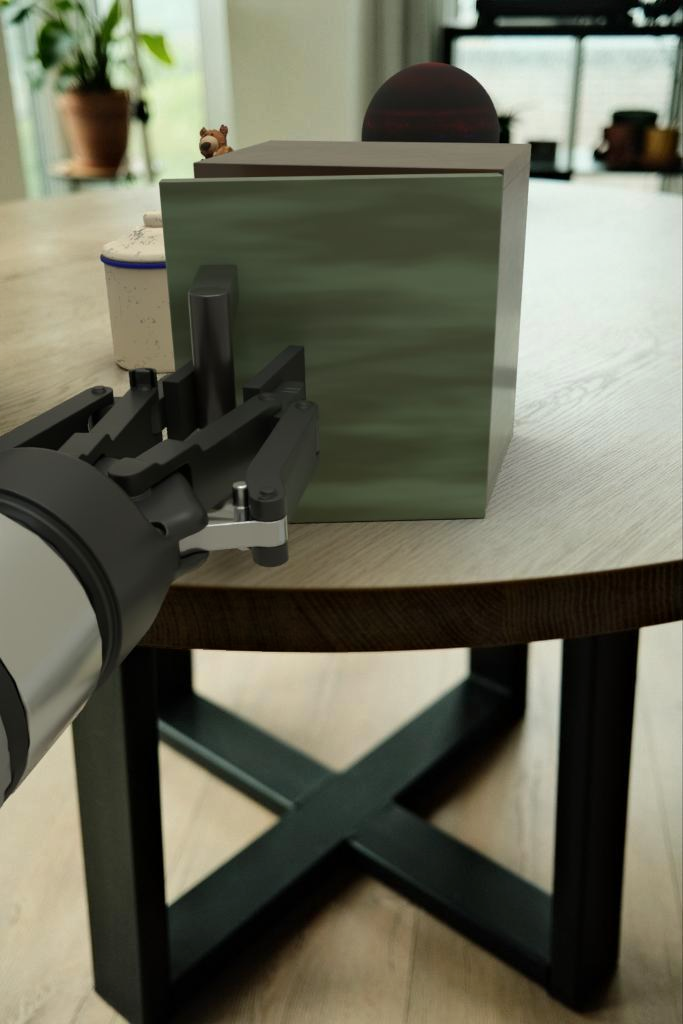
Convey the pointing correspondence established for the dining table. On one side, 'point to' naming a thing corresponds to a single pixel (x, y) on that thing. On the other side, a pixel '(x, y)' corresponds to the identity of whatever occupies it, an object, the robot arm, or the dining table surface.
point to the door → (349, 324)
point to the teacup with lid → (140, 297)
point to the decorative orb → (431, 108)
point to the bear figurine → (214, 142)
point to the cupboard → (423, 160)
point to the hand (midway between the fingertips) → (261, 370)
